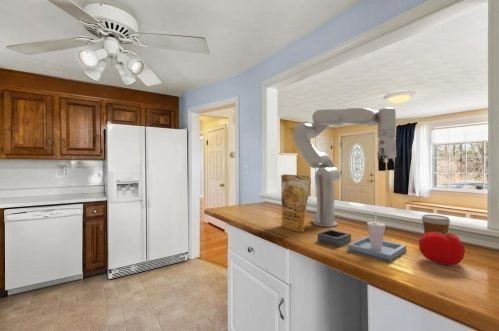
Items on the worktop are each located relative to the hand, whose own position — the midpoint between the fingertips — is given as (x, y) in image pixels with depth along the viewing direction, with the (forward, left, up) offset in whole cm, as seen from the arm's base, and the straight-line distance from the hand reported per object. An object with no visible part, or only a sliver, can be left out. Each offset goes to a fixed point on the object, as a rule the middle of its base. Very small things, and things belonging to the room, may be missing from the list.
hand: (386, 170), depth 119 cm
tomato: (+26, -21, -31) cm, 45 cm away
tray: (+7, -27, -30) cm, 41 cm away
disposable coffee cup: (+20, -3, -31) cm, 37 cm away
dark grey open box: (-10, -29, -30) cm, 43 cm away
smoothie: (+7, -27, -30) cm, 41 cm away
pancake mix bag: (-36, -25, -31) cm, 53 cm away
